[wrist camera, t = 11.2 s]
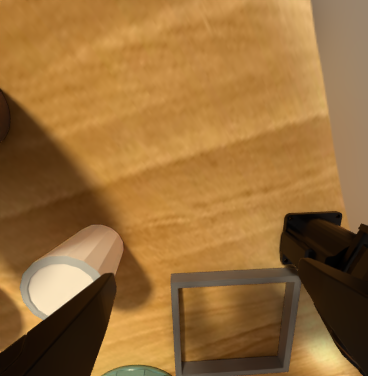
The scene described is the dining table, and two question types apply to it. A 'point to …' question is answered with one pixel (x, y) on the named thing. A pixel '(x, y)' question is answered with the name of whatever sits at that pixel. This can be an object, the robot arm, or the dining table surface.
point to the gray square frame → (230, 368)
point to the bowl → (136, 371)
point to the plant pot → (4, 117)
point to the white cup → (70, 268)
